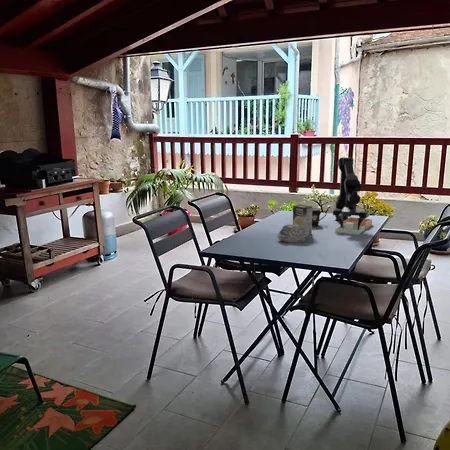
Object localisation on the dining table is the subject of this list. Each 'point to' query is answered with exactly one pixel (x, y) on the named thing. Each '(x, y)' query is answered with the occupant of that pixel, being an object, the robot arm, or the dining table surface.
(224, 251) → the dining table surface
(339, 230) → the pale green tray
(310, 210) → the coffee box
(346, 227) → the grey block
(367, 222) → the terracotta bin
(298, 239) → the rock
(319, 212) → the coffee mug
